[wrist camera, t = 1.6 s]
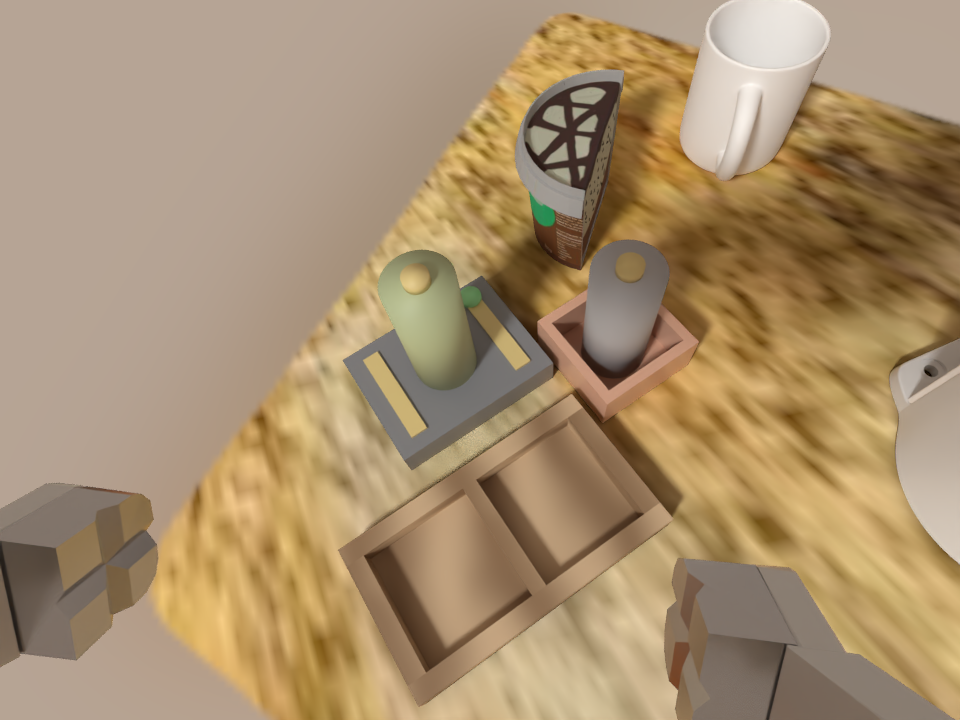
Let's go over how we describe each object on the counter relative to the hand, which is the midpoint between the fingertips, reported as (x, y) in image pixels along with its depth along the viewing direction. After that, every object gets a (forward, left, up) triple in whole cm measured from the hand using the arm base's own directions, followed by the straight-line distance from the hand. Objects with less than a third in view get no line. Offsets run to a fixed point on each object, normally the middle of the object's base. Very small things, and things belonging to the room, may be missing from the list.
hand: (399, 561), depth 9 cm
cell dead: (-16, -11, -29) cm, 35 cm away
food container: (-21, -23, -30) cm, 43 cm away
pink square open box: (-16, -11, -30) cm, 36 cm away
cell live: (-6, -16, -27) cm, 32 cm away
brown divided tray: (-2, -4, -30) cm, 30 cm away
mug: (-35, -20, -30) cm, 50 cm away
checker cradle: (-6, -16, -30) cm, 34 cm away
